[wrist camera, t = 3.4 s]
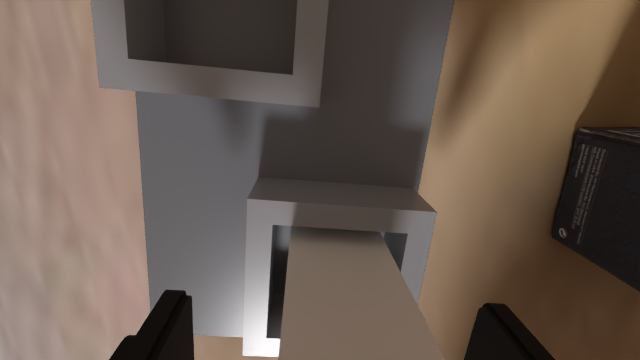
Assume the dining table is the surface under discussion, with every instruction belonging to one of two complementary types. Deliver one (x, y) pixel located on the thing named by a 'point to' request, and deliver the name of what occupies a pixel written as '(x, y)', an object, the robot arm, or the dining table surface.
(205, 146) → the panel
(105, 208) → the dining table surface
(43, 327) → the dining table surface
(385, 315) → the plug
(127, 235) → the dining table surface
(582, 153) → the small box
